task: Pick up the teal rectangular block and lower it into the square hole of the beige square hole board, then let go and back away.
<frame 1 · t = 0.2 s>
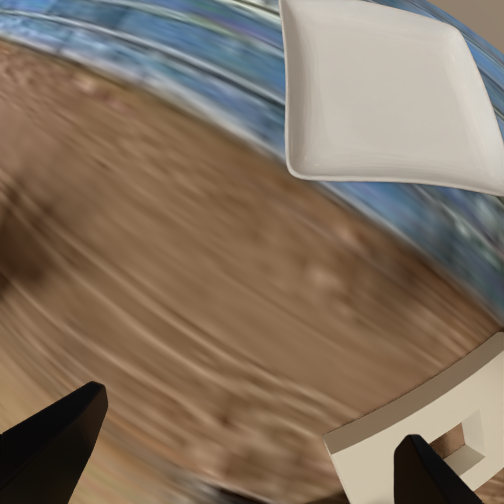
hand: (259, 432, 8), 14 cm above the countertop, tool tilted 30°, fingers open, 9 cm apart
salad plate: (390, 94, 26), on the countertop
beige square hole board: (437, 439, 21), on the countertop
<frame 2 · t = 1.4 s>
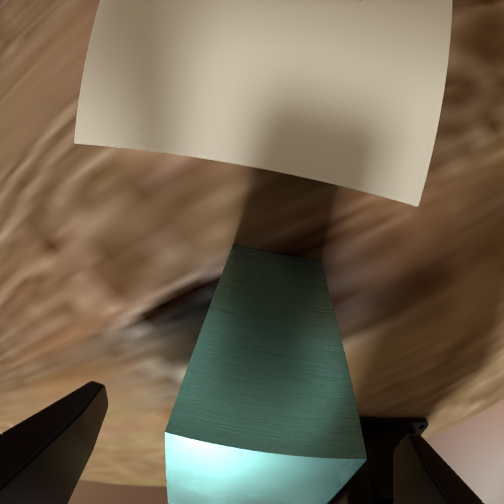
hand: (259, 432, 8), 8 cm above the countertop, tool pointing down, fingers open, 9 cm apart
teal rectangular block: (268, 292, 15), on the countertop
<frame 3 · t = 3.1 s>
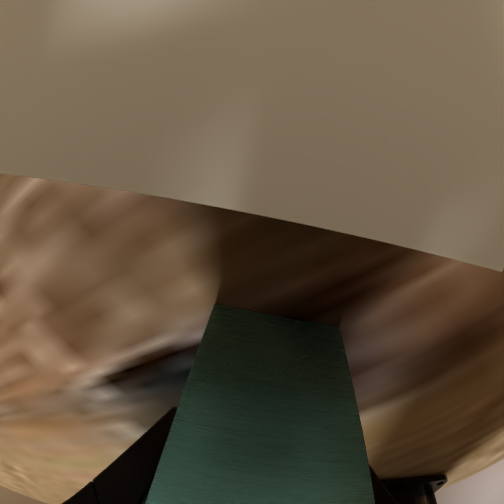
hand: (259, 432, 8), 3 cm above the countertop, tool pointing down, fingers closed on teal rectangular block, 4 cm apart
teal rectangular block: (265, 363, 11), on the countertop, touching gripper
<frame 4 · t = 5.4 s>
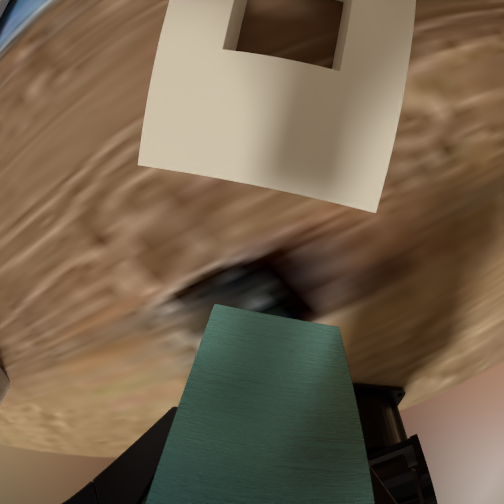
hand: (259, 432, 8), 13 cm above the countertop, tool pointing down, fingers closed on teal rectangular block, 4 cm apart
teal rectangular block: (265, 363, 11), point 10 cm above the countertop, touching gripper
beige square hole board: (289, 29, 15), on the countertop
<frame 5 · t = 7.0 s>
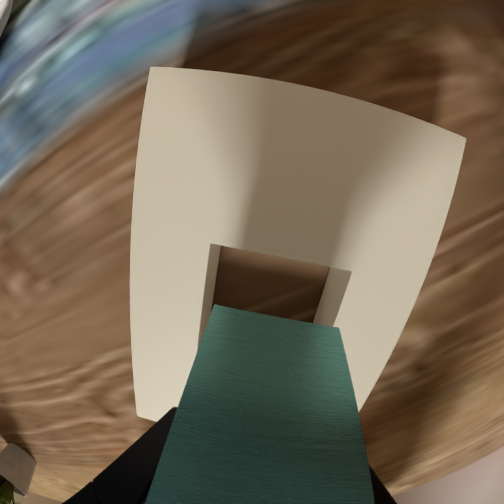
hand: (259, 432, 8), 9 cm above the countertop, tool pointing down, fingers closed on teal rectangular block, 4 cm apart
teal rectangular block: (265, 364, 11), point 6 cm above the countertop, touching gripper
house plant: (23, 451, 30), on the countertop
beige square hole board: (270, 280, 16), on the countertop
when the fingers open (4 cm above the countertop, at t = 8.2 s): teal rectangular block drops 2 cm, resting in beige square hole board.
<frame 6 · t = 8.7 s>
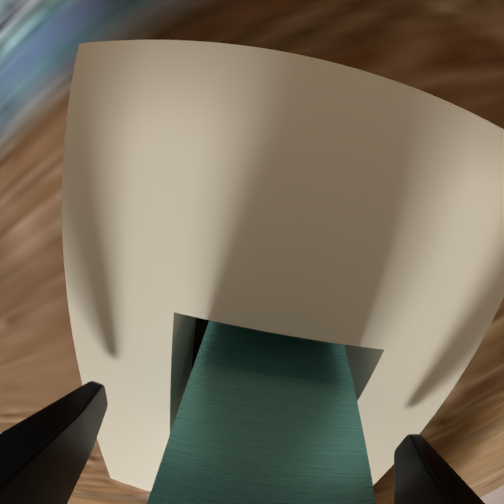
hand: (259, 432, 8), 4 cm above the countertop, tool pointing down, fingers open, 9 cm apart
teal rectangular block: (267, 338, 12), resting in beige square hole board
beige square hole board: (267, 337, 12), on the countertop
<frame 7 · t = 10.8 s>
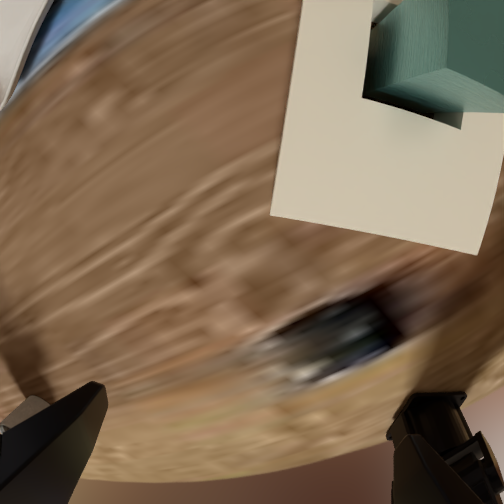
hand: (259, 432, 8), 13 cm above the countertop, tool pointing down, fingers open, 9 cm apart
teal rectangular block: (397, 72, 15), resting in beige square hole board
house plant: (45, 404, 29), on the countertop
beige square hole board: (397, 71, 15), on the countertop
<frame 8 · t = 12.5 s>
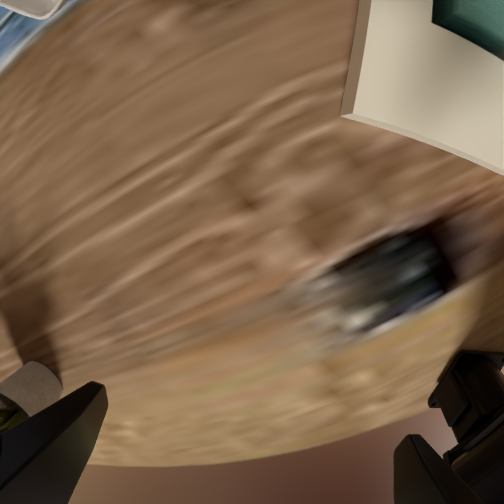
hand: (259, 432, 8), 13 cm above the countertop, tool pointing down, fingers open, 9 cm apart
teal rectangular block: (449, 20, 13), resting in beige square hole board
house plant: (46, 372, 27), on the countertop
beige square hole board: (449, 19, 13), on the countertop
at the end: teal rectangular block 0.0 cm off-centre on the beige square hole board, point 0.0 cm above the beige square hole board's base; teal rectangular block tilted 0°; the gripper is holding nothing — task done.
